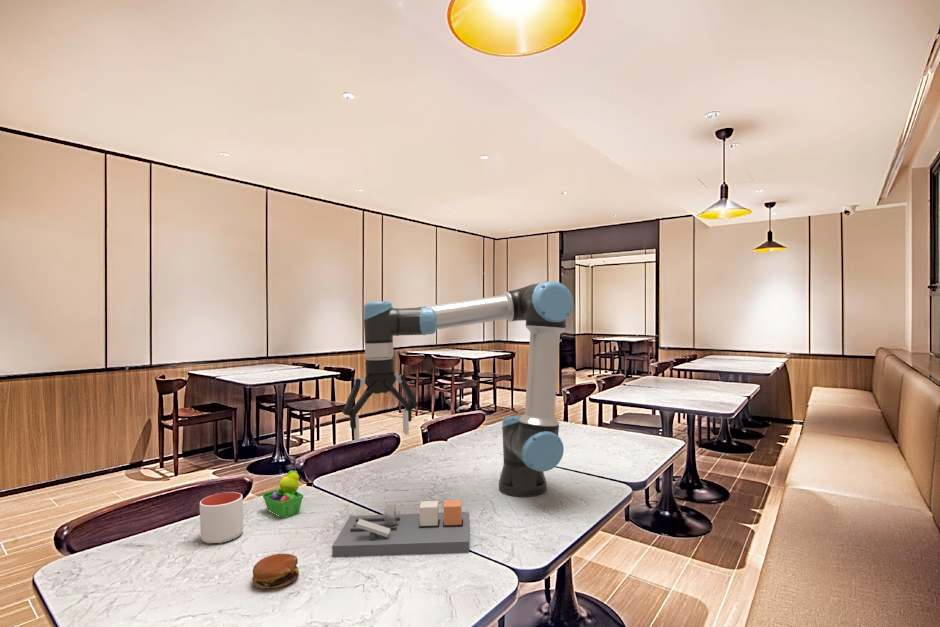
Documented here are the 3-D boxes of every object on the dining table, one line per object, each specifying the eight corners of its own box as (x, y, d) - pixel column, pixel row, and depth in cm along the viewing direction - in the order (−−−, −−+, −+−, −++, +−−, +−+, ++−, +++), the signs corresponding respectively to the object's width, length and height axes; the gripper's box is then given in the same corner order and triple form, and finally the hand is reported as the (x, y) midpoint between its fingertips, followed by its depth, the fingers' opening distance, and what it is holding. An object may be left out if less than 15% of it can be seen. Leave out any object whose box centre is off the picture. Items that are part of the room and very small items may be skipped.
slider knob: (396, 520, 132) (395, 504, 132) (394, 525, 128) (393, 509, 128) (387, 520, 132) (386, 504, 132) (384, 526, 128) (384, 510, 128)
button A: (461, 517, 132) (461, 500, 132) (461, 524, 128) (461, 506, 128) (444, 518, 132) (444, 500, 132) (444, 525, 128) (443, 506, 128)
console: (469, 521, 137) (468, 506, 137) (469, 552, 119) (468, 535, 119) (350, 525, 137) (349, 510, 137) (332, 556, 119) (331, 540, 119)
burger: (247, 578, 110) (247, 556, 110) (291, 565, 116) (290, 544, 116) (258, 598, 102) (257, 575, 102) (304, 583, 108) (304, 561, 108)
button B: (438, 518, 132) (438, 500, 132) (437, 525, 128) (437, 507, 128) (421, 519, 132) (421, 501, 132) (420, 526, 128) (419, 507, 128)
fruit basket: (261, 511, 149) (260, 473, 149) (289, 502, 155) (288, 465, 155) (280, 521, 141) (278, 480, 141) (309, 511, 148) (308, 472, 148)
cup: (226, 547, 126) (225, 506, 126) (191, 544, 128) (190, 505, 128) (251, 530, 136) (250, 492, 136) (218, 528, 138) (217, 491, 138)
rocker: (389, 531, 124) (390, 528, 124) (387, 537, 121) (388, 534, 121) (358, 521, 124) (359, 518, 124) (355, 526, 121) (356, 523, 121)
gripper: (418, 354, 146) (420, 428, 146) (329, 360, 135) (332, 440, 135) (427, 356, 140) (430, 433, 139) (335, 362, 129) (338, 446, 129)
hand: (382, 437), depth 137 cm, fingers open, 13 cm apart
